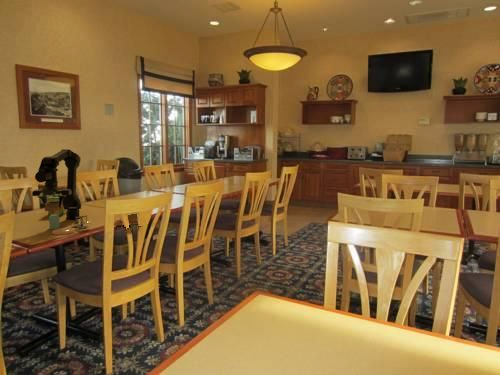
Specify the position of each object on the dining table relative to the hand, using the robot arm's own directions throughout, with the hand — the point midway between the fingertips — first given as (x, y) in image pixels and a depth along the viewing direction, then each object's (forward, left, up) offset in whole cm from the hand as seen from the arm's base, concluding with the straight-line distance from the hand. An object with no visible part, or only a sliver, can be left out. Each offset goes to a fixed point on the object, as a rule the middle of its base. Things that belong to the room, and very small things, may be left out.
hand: (53, 207), depth 207 cm
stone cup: (-28, +28, -12) cm, 41 cm away
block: (0, 0, -11) cm, 11 cm away
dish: (+2, +13, -11) cm, 17 cm away
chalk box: (-19, -32, -12) cm, 39 cm away
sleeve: (0, 0, -1) cm, 1 cm away
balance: (-9, +12, -11) cm, 19 cm away
